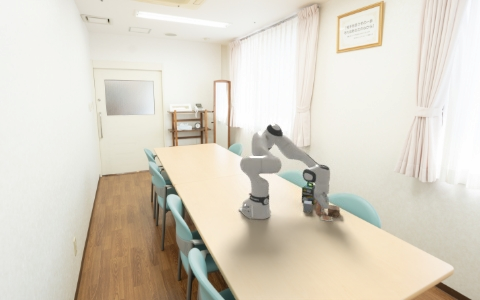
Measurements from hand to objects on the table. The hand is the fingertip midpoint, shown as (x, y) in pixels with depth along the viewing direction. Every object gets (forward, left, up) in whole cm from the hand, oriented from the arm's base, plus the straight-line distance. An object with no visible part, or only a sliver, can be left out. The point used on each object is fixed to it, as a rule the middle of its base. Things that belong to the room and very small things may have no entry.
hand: (320, 209), depth 175 cm
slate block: (-7, -4, -2) cm, 9 cm away
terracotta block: (0, 0, -2) cm, 2 cm away
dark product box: (-16, +10, -2) cm, 19 cm away
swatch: (+8, -4, -2) cm, 9 cm away
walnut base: (+7, +5, -2) cm, 9 cm away
